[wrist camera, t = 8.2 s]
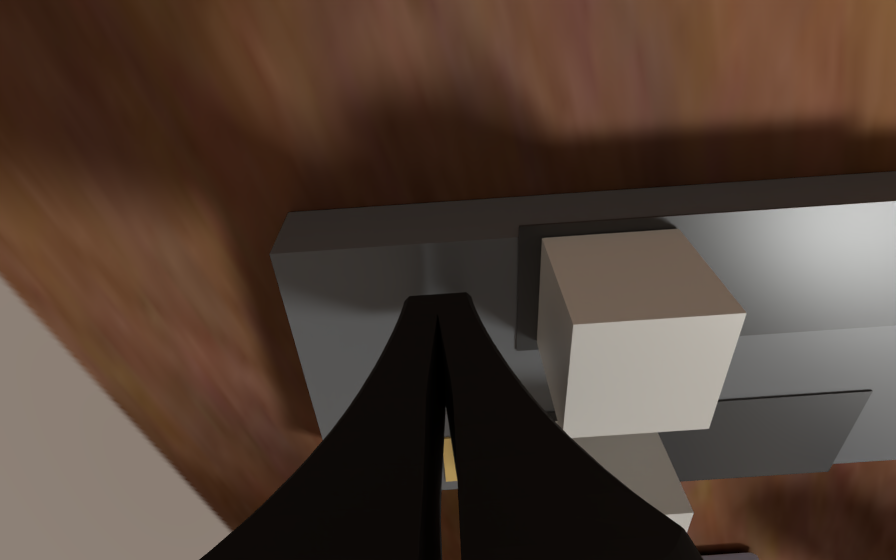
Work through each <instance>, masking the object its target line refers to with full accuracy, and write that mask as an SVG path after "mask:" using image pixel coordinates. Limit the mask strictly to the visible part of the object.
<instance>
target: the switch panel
mask: <svg viewBox="0 0 896 560" xmlns="http://www.w3.org/2000/svg"><path fill="white" fill-rule="evenodd" d="M667 229H679V230H680V231H681V232H682V233H683V235H684V236H685V237H686V238H687V240H688V241H689V242H690V243H691V244H692V246H693V247H694V248H695V249H696V251H697V252H698V253H699V254H700V256H701V257H702V258H703V259H704V261H705V262H706V263H707V264H708V266H709V267H710V268H711V269H712V271H713V272H714V273H715V274H716V276H717V277H718V278H719V279H720V280H721V282H722V283H723V284H724V285H725V287H726V288H727V289H728V290H729V292H730V293H731V294H732V295H733V297H734V298H735V299H736V300H737V302H738V303H739V304H740V305H741V307H742V308H743V309H744V310H745V312H746V313H747V314H746V317H745V320H744V323H743V326H742V329H741V332H740V335H739V338H738V341H737V344H736V347H735V350H734V353H733V357H732V360H731V363H730V366H729V369H728V372H727V375H726V378H725V381H724V384H723V387H722V390H721V393H720V396H719V399H718V402H717V405H716V409H715V412H714V415H713V418H712V421H711V424H710V427H709V429H699V430H684V431H669V432H658V434H659V436H660V439H661V441H662V443H663V445H664V448H665V450H666V452H667V454H668V457H669V459H670V461H671V463H672V465H673V468H674V470H675V472H676V474H677V477H678V479H679V481H695V480H710V479H725V478H739V477H754V476H769V475H784V474H799V473H814V472H828V471H829V470H830V468H831V466H832V464H837V463H852V462H867V461H882V460H896V171H890V172H875V173H861V174H846V175H831V176H817V177H802V178H787V179H772V180H758V181H743V182H728V183H713V184H699V185H684V186H669V187H654V188H640V189H625V190H610V191H595V192H581V193H566V194H551V195H536V196H522V197H507V198H492V199H477V200H463V201H448V202H433V203H418V204H404V205H389V206H374V207H359V208H345V209H330V210H315V211H300V212H288V214H287V216H286V219H285V221H284V223H283V225H282V227H281V230H280V232H279V234H278V236H277V238H276V241H275V243H274V245H273V247H272V250H271V252H270V258H271V261H272V265H273V268H274V272H275V275H276V279H277V282H278V286H279V289H280V293H281V296H282V300H283V303H284V307H285V310H286V313H287V317H288V320H289V324H290V327H291V331H292V334H293V338H294V341H295V345H296V348H297V352H298V355H299V359H300V362H301V366H302V369H303V373H304V376H305V380H306V383H307V387H308V390H309V394H310V397H311V401H312V404H313V408H314V411H315V415H316V418H317V422H318V425H319V428H320V432H321V435H322V439H323V440H324V438H325V437H326V436H327V435H328V434H329V432H330V431H331V430H332V429H333V427H334V426H335V425H336V423H337V422H338V421H339V419H340V418H341V417H342V415H343V414H344V413H345V411H346V410H347V408H348V407H349V406H350V404H351V403H352V401H353V400H354V398H355V397H356V395H357V394H358V392H359V391H360V389H361V388H362V386H363V384H364V383H365V381H366V379H367V378H368V376H369V375H370V373H371V371H372V370H373V368H374V366H375V365H376V363H377V361H378V359H379V357H380V355H381V354H382V352H383V350H384V348H385V346H386V344H387V342H388V340H389V338H390V336H391V334H392V332H393V330H394V327H395V325H396V323H397V321H398V318H399V316H400V313H401V310H402V307H403V304H404V301H405V300H406V299H407V298H408V297H409V296H417V295H432V294H446V293H460V292H467V293H468V294H469V295H470V296H471V297H472V300H473V303H474V306H475V308H476V311H477V313H478V315H479V317H480V319H481V321H482V323H483V325H484V327H485V328H486V330H487V332H488V334H489V336H490V337H491V339H492V341H493V342H494V344H495V345H496V347H497V348H498V350H499V351H500V353H501V355H502V356H503V358H504V359H505V361H506V362H507V364H508V365H509V366H510V368H511V369H512V371H513V372H514V373H515V375H516V376H517V377H518V379H519V380H520V381H521V383H522V384H523V385H524V386H525V388H526V389H527V390H528V391H529V393H530V394H531V395H532V396H533V397H534V399H535V400H536V401H537V402H538V403H539V404H540V406H541V407H542V408H543V409H544V410H545V411H546V412H547V413H548V415H549V416H550V417H551V418H552V419H553V420H554V421H558V420H557V417H556V413H555V409H554V405H553V401H552V398H551V394H550V390H549V386H548V382H547V379H546V375H545V371H544V367H543V363H542V360H541V356H540V352H539V348H538V344H537V328H538V308H539V287H540V267H541V246H542V238H549V237H564V236H578V235H593V234H608V233H623V232H637V231H652V230H667ZM450 489H458V482H457V475H456V469H455V462H454V456H453V449H452V443H451V436H450V430H449V423H448V417H447V410H446V415H445V434H444V453H443V472H442V490H450Z"/></svg>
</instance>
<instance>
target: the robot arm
mask: <svg viewBox="0 0 896 560" xmlns="http://www.w3.org/2000/svg"><path fill="white" fill-rule="evenodd" d="M446 410H447V417H448V423H449V430H450V436H451V443H452V449H453V456H454V462H455V469H456V475H457V482H458V500H459V520H460V540H461V560H759V558H758V556H757V555H756V554H754V553H733V554H718V555H703V556H701V555H700V553H699V551H698V550H697V548H696V547H695V545H694V543H693V542H692V540H691V539H690V537H689V535H688V534H687V532H686V531H685V529H684V528H683V527H681V526H680V525H679V524H677V523H676V522H674V521H673V520H672V519H670V518H669V517H667V516H666V515H664V514H663V513H662V512H660V511H659V510H657V509H656V508H655V507H653V506H652V505H650V504H649V503H648V502H646V501H645V500H644V499H642V498H641V497H640V496H638V495H637V494H636V493H634V492H633V491H632V490H631V489H629V488H628V487H627V486H626V485H624V484H623V483H622V482H621V481H619V480H618V479H617V478H616V477H615V476H613V475H612V474H611V473H610V472H608V471H607V470H606V469H605V468H604V467H603V466H601V465H600V464H599V463H598V462H597V461H596V460H595V459H594V458H593V457H592V456H590V455H589V454H588V453H587V452H586V451H585V450H584V449H583V448H582V447H581V446H579V445H578V444H577V443H576V442H575V441H574V440H573V439H572V438H571V437H570V436H569V435H568V434H567V433H566V432H565V431H564V430H563V429H562V428H561V427H560V426H559V425H558V424H557V423H556V422H555V421H554V420H553V419H552V418H551V417H550V416H549V415H548V413H547V412H546V411H545V410H544V409H543V408H542V407H541V406H540V404H539V403H538V402H537V401H536V400H535V399H534V397H533V396H532V395H531V394H530V393H529V391H528V390H527V389H526V388H525V386H524V385H523V384H522V383H521V381H520V380H519V379H518V377H517V376H516V375H515V373H514V372H513V371H512V369H511V368H510V366H509V365H508V364H507V362H506V361H505V359H504V358H503V356H502V355H501V353H500V351H499V350H498V348H497V347H496V345H495V344H494V342H493V341H492V339H491V337H490V336H489V334H488V332H487V330H486V328H485V327H484V325H483V323H482V321H481V319H480V317H479V315H478V313H477V311H476V308H475V306H474V303H473V300H472V297H471V296H470V295H469V294H468V293H467V292H460V293H446V294H432V295H417V296H409V297H408V298H407V299H406V300H405V301H404V304H403V307H402V310H401V313H400V316H399V318H398V321H397V323H396V325H395V327H394V330H393V332H392V334H391V336H390V338H389V340H388V342H387V344H386V346H385V348H384V350H383V352H382V354H381V355H380V357H379V359H378V361H377V363H376V365H375V366H374V368H373V370H372V371H371V373H370V375H369V376H368V378H367V379H366V381H365V383H364V384H363V386H362V388H361V389H360V391H359V392H358V394H357V395H356V397H355V398H354V400H353V401H352V403H351V404H350V406H349V407H348V408H347V410H346V411H345V413H344V414H343V415H342V417H341V418H340V419H339V421H338V422H337V423H336V425H335V426H334V427H333V429H332V430H331V431H330V432H329V434H328V435H327V436H326V437H325V438H324V440H323V441H322V442H321V443H320V444H319V446H318V447H317V448H316V449H315V450H314V451H313V453H312V454H311V455H310V456H309V457H308V458H307V460H306V461H305V462H304V463H303V464H302V465H301V466H300V467H299V468H298V469H297V471H296V472H295V473H294V474H293V475H292V476H291V477H290V478H289V479H288V480H287V481H286V482H285V483H284V484H283V485H282V486H281V487H280V488H279V489H278V490H277V491H276V492H275V493H274V494H273V495H272V496H271V497H270V498H269V499H268V500H267V501H266V502H265V503H264V504H263V505H262V506H261V507H260V508H259V509H257V510H256V511H255V512H254V513H253V514H252V515H251V516H250V517H249V518H248V519H246V520H245V521H244V522H243V523H242V524H241V525H240V526H238V527H237V528H236V529H235V530H234V531H233V532H231V533H230V534H229V535H228V536H227V537H226V538H225V539H223V540H222V541H221V542H220V543H219V544H218V545H216V546H215V547H214V548H213V549H212V550H211V551H209V552H208V553H207V554H206V555H205V556H203V557H202V558H201V559H200V560H442V543H441V490H442V472H443V453H444V434H445V415H446Z"/></svg>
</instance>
